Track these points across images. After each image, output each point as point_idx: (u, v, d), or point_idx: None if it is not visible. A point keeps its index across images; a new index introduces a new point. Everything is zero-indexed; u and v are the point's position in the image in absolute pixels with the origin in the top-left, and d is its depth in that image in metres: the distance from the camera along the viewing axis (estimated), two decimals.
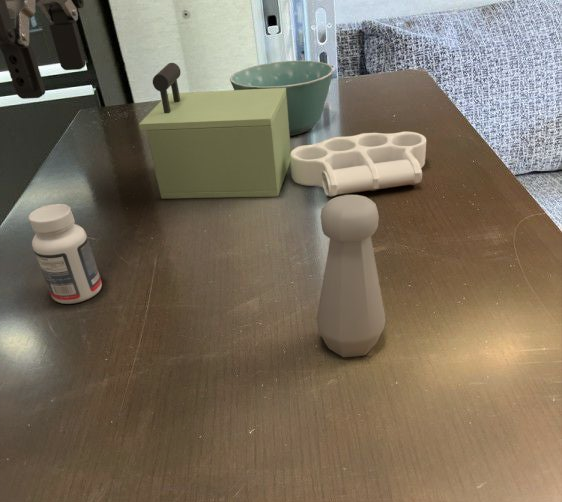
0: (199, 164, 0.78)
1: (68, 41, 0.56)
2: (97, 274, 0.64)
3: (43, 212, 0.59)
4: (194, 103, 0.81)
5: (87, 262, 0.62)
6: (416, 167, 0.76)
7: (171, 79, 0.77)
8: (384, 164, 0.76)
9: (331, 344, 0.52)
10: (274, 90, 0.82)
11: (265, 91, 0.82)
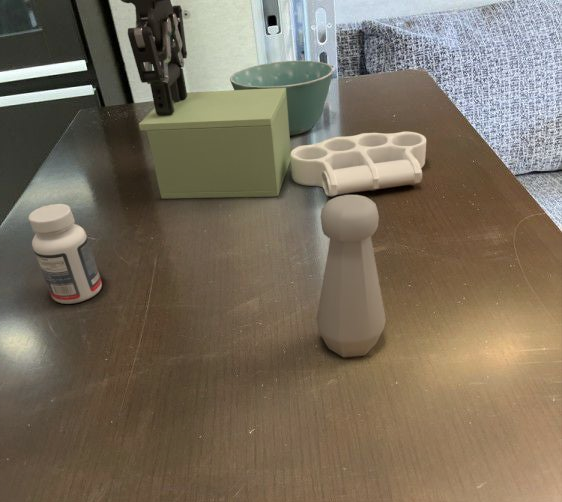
0: (199, 164, 0.78)
1: (177, 81, 0.81)
2: (97, 274, 0.64)
3: (43, 213, 0.59)
4: (195, 103, 0.81)
5: (87, 262, 0.62)
6: (416, 167, 0.76)
7: (171, 79, 0.77)
8: (384, 164, 0.76)
9: (331, 344, 0.52)
10: (274, 90, 0.82)
11: (265, 91, 0.82)
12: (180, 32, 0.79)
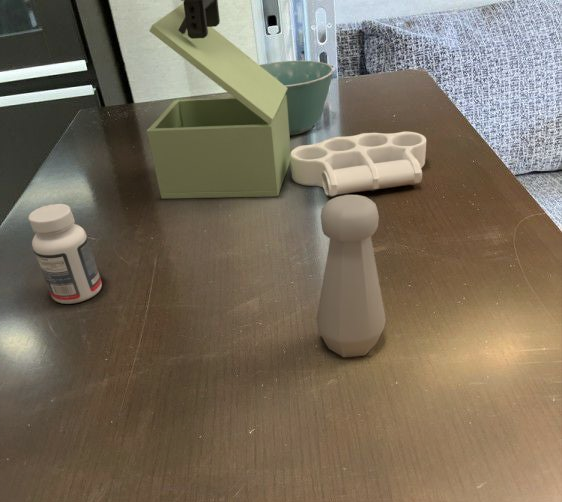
0: (199, 164, 0.78)
1: None
2: (97, 274, 0.64)
3: (43, 213, 0.59)
4: (207, 40, 0.76)
5: (87, 262, 0.62)
6: (416, 167, 0.76)
7: (206, 7, 0.71)
8: (384, 164, 0.76)
9: (331, 344, 0.52)
10: (278, 83, 0.81)
11: (270, 78, 0.81)
12: None
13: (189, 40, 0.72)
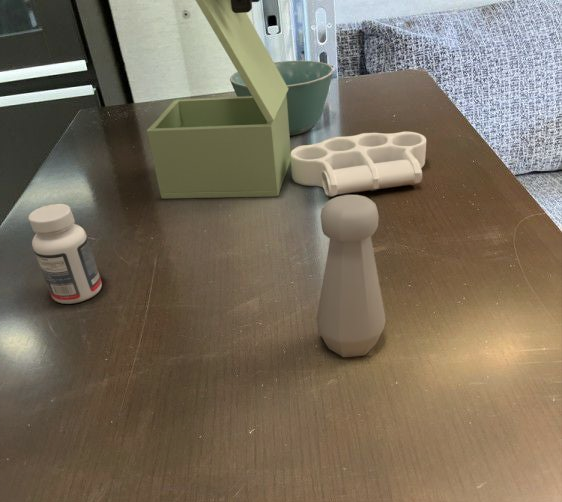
0: (199, 164, 0.78)
1: None
2: (97, 274, 0.64)
3: (43, 213, 0.59)
4: (233, 14, 0.73)
5: (87, 262, 0.62)
6: (416, 167, 0.76)
7: None
8: (384, 164, 0.76)
9: (331, 344, 0.52)
10: (282, 81, 0.81)
11: (277, 74, 0.80)
12: None
13: (219, 8, 0.70)
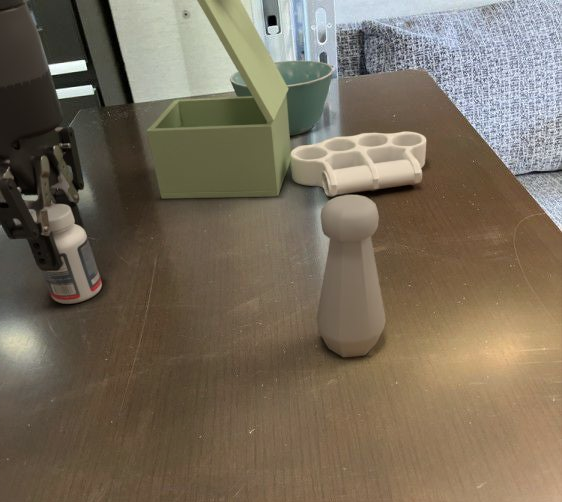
0: (199, 164, 0.78)
1: None
2: (97, 274, 0.64)
3: None
4: (234, 13, 0.73)
5: (87, 262, 0.62)
6: (416, 167, 0.76)
7: None
8: (384, 164, 0.76)
9: (331, 344, 0.52)
10: (282, 81, 0.81)
11: (277, 74, 0.80)
12: (72, 160, 0.61)
13: (220, 8, 0.70)
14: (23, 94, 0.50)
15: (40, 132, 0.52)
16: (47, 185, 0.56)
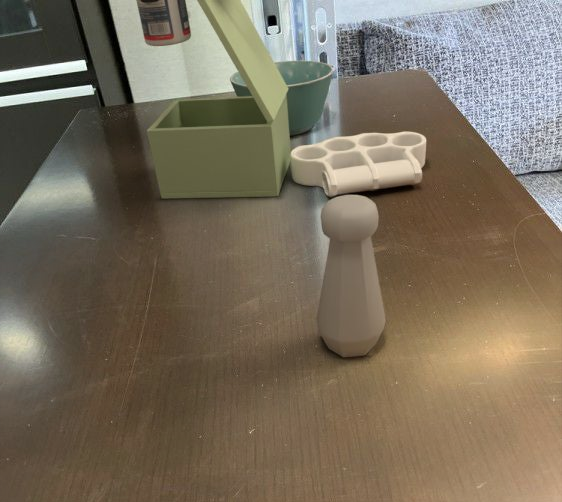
0: (199, 164, 0.78)
1: None
2: (188, 21, 0.69)
3: None
4: (234, 13, 0.73)
5: (181, 2, 0.67)
6: (416, 167, 0.76)
7: None
8: (384, 164, 0.76)
9: (331, 344, 0.52)
10: (282, 81, 0.81)
11: (277, 74, 0.80)
12: None
13: (220, 8, 0.70)
14: None
15: None
16: None
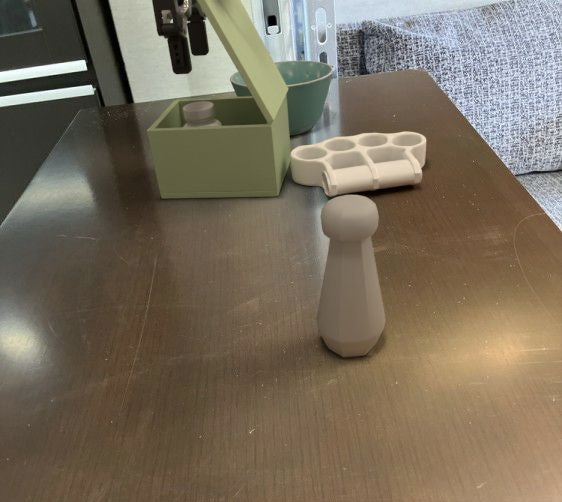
0: (199, 164, 0.78)
1: (199, 35, 0.78)
2: None
3: (193, 106, 0.80)
4: (234, 13, 0.73)
5: None
6: (416, 167, 0.76)
7: None
8: (384, 164, 0.76)
9: (331, 344, 0.52)
10: (282, 81, 0.81)
11: (277, 74, 0.80)
12: None
13: (220, 8, 0.70)
14: None
15: None
16: None
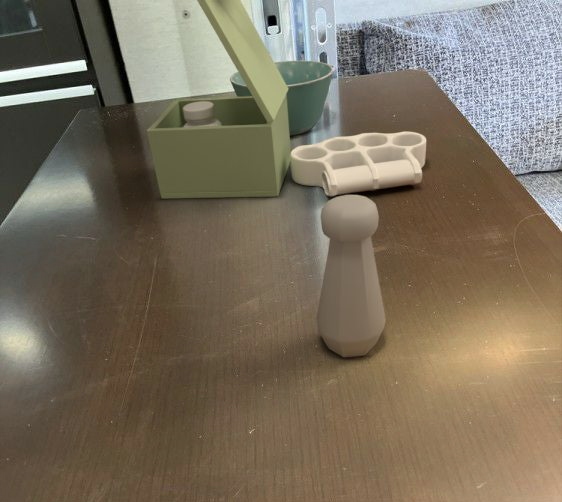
0: (199, 164, 0.78)
1: None
2: None
3: (193, 106, 0.80)
4: (234, 13, 0.73)
5: None
6: (416, 167, 0.76)
7: None
8: (384, 164, 0.76)
9: (331, 344, 0.52)
10: (282, 81, 0.81)
11: (277, 74, 0.80)
12: None
13: (220, 8, 0.70)
14: None
15: None
16: None
